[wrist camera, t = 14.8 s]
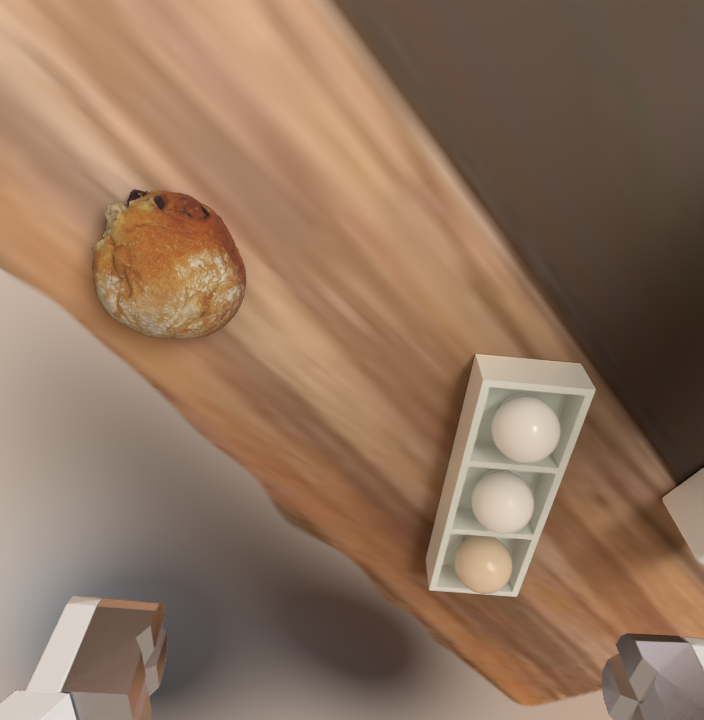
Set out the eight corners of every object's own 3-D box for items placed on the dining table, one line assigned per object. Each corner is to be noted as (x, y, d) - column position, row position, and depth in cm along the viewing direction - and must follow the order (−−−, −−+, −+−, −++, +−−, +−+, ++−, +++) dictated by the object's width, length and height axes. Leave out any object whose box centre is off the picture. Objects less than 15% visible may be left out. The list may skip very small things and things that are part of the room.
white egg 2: (532, 461, 50) (548, 505, 46) (518, 504, 53) (531, 549, 49) (473, 455, 50) (483, 499, 46) (461, 499, 53) (470, 544, 49)
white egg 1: (558, 386, 46) (578, 427, 42) (541, 436, 49) (558, 480, 45) (493, 380, 46) (507, 420, 42) (480, 431, 49) (491, 474, 45)
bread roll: (135, 283, 47) (117, 370, 43) (72, 181, 39) (41, 276, 35) (260, 273, 47) (253, 360, 43) (224, 166, 38) (212, 262, 34)
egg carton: (581, 363, 46) (596, 389, 43) (509, 565, 59) (517, 596, 56) (475, 353, 46) (483, 379, 43) (425, 559, 59) (428, 590, 56)
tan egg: (511, 524, 54) (524, 570, 50) (499, 561, 57) (510, 608, 53) (456, 520, 54) (464, 565, 50) (446, 557, 57) (453, 604, 53)
